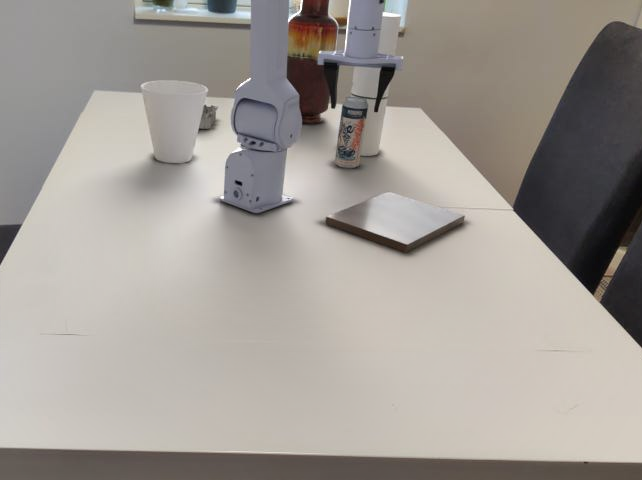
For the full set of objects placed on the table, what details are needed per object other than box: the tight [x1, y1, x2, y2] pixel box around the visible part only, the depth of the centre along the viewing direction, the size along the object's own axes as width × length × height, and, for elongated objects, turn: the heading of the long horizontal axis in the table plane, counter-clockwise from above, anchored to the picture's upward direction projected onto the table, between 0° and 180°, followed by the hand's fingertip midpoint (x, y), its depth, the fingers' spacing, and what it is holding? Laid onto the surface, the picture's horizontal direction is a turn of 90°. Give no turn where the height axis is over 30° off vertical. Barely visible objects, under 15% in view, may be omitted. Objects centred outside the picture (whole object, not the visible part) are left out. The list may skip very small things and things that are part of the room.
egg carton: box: [199, 104, 219, 130], centre depth 152 cm, size 11×8×4 cm
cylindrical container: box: [349, 11, 402, 157], centre depth 136 cm, size 7×7×25 cm
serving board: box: [324, 191, 466, 253], centre depth 109 cm, size 18×14×1 cm
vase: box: [286, 0, 339, 125], centre depth 155 cm, size 11×11×26 cm
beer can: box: [333, 96, 369, 169], centre depth 130 cm, size 5×5×12 cm
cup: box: [139, 79, 209, 164], centre depth 127 cm, size 12×12×12 cm
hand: (354, 108), depth 128 cm, fingers open, 7 cm apart
